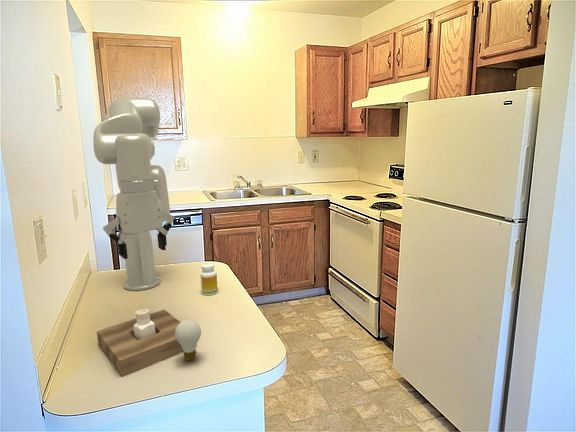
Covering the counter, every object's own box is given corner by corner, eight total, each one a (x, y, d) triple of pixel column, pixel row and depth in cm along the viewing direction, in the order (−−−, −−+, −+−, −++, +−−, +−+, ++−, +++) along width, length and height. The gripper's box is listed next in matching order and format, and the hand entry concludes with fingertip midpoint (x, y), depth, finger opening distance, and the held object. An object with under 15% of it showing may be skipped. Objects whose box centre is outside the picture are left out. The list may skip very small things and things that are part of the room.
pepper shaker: (148, 340, 102) (144, 306, 100) (157, 344, 99) (154, 310, 97) (134, 346, 99) (130, 312, 97) (143, 351, 96) (139, 316, 94)
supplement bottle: (220, 293, 131) (218, 265, 129) (205, 297, 128) (203, 269, 126) (213, 288, 135) (212, 261, 133) (199, 292, 132) (197, 264, 130)
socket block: (98, 345, 100) (96, 331, 99) (165, 322, 111) (164, 309, 110) (121, 376, 87) (119, 360, 86) (195, 346, 98) (193, 332, 97)
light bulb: (179, 369, 89) (176, 329, 87) (176, 356, 94) (172, 318, 92) (205, 363, 91) (202, 323, 89) (200, 350, 96) (197, 313, 94)
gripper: (164, 181, 103) (170, 243, 107) (94, 189, 92) (103, 257, 96) (176, 184, 97) (182, 249, 101) (103, 192, 86) (112, 265, 90)
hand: (143, 253), depth 98 cm, fingers open, 9 cm apart
